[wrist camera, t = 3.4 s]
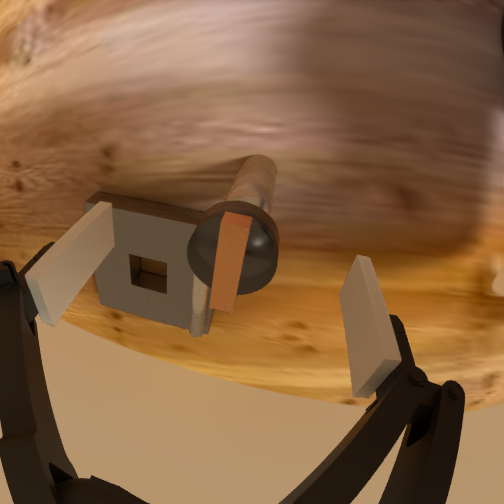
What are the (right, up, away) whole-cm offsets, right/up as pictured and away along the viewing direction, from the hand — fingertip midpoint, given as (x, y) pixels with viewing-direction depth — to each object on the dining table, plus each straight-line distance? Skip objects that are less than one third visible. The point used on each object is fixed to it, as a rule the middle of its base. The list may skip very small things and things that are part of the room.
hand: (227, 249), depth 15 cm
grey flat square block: (-9, -1, +17) cm, 19 cm away
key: (+2, +7, +10) cm, 12 cm away
